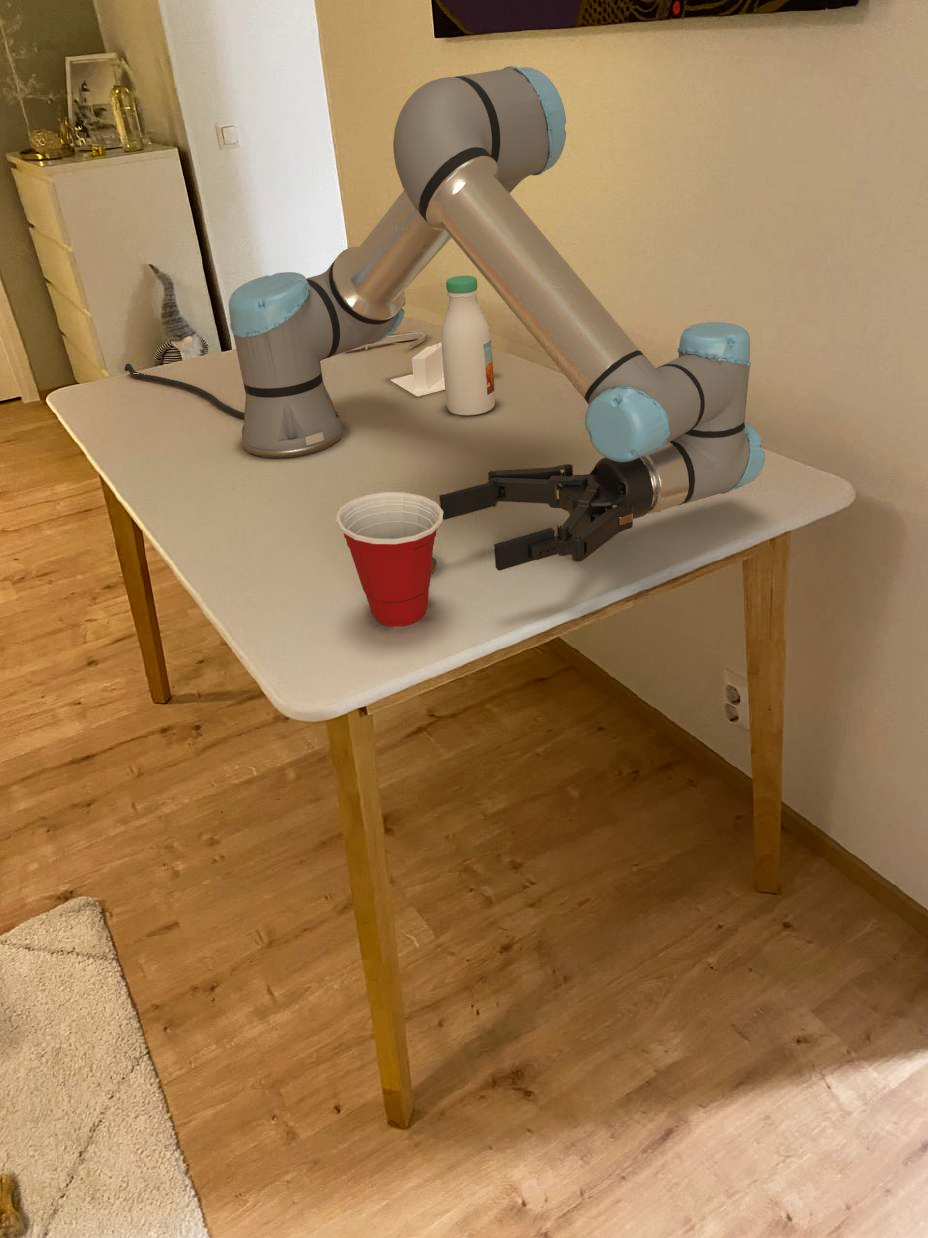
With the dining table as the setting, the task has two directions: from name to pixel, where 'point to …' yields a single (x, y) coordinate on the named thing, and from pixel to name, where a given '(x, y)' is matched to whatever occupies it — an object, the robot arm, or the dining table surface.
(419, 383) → the napkin holder
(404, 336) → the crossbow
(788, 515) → the dining table surface
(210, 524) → the dining table surface
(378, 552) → the plastic cup
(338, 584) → the dining table surface
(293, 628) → the dining table surface
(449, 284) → the milk bottle
